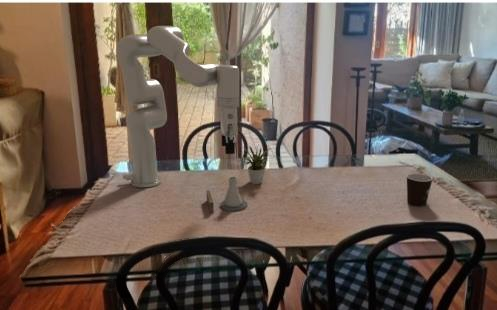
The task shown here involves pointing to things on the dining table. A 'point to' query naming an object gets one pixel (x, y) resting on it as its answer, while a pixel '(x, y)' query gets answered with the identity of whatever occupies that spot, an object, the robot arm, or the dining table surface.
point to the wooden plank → (210, 201)
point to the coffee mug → (418, 189)
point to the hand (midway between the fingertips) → (228, 149)
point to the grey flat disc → (233, 207)
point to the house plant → (256, 166)
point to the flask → (232, 194)
